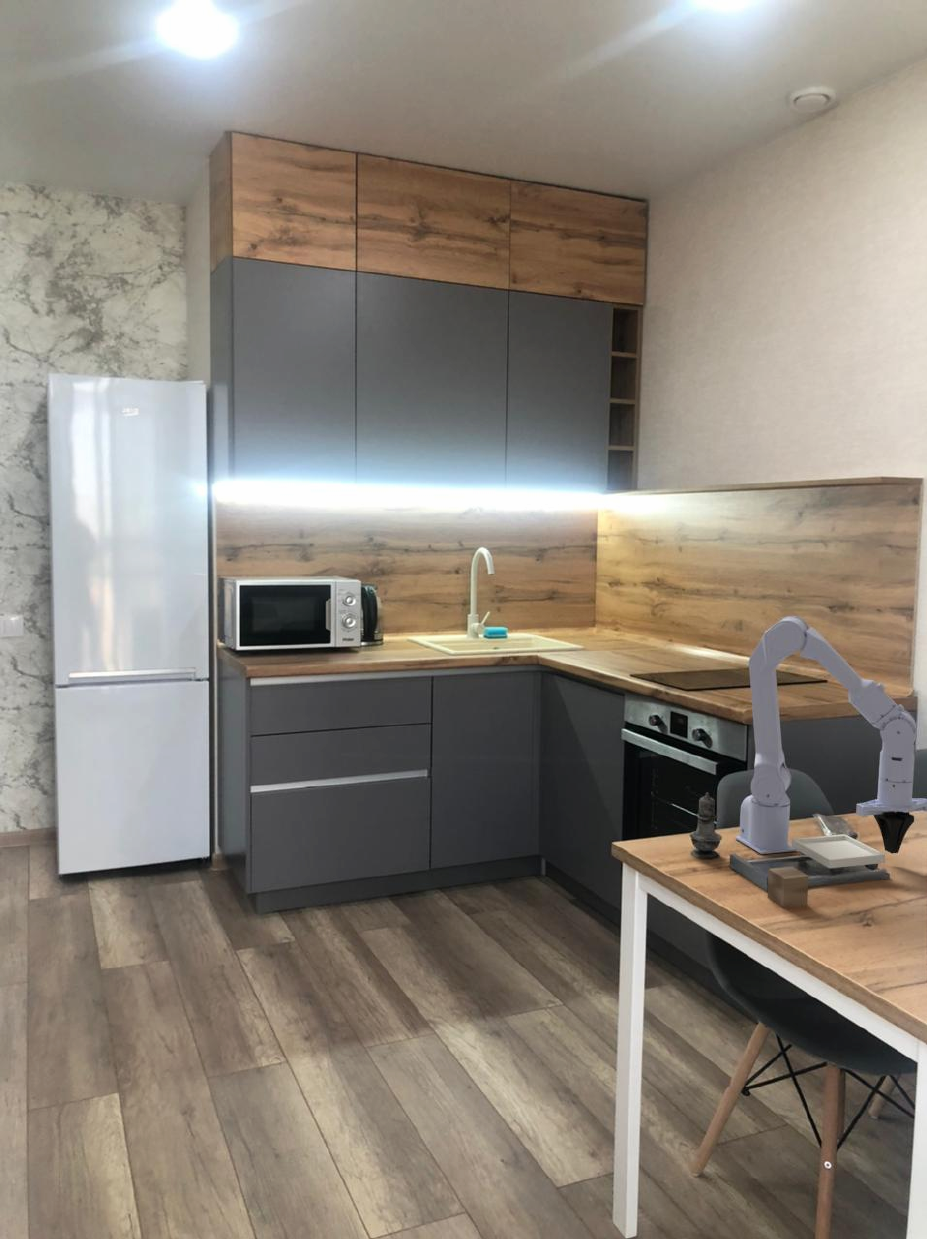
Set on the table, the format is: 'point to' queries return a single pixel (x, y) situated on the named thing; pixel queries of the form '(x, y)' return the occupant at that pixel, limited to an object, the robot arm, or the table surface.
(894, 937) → the table surface
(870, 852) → the white recessed tray
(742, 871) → the dark grey tray
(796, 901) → the plain brown block
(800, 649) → the robot arm
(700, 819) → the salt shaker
